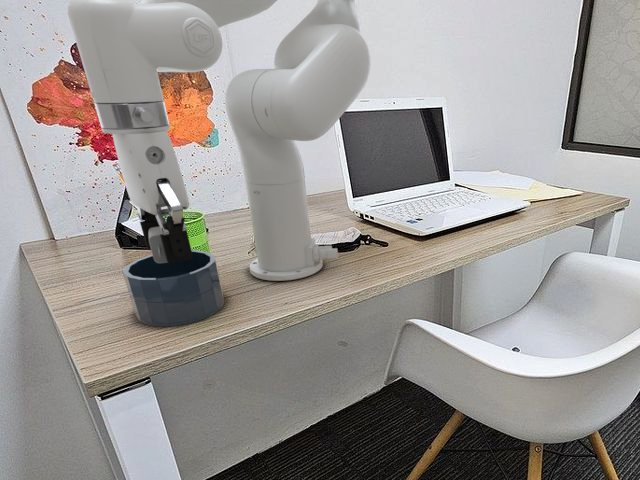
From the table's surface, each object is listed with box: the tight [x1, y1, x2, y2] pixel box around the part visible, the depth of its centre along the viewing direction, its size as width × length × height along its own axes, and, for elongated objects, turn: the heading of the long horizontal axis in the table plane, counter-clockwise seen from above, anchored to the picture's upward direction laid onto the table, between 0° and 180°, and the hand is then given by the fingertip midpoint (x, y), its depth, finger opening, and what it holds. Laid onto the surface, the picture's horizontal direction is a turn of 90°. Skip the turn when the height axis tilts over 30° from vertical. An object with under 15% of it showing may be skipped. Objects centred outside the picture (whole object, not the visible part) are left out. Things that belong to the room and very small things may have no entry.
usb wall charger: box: [148, 226, 167, 263], centre depth 66 cm, size 4×7×4 cm, turn 28°
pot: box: [122, 249, 225, 328], centre depth 69 cm, size 12×12×7 cm
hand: (169, 252), depth 66 cm, fingers closed on usb wall charger, 7 cm apart
